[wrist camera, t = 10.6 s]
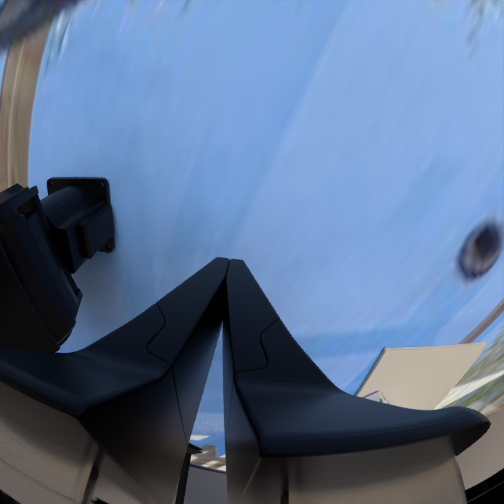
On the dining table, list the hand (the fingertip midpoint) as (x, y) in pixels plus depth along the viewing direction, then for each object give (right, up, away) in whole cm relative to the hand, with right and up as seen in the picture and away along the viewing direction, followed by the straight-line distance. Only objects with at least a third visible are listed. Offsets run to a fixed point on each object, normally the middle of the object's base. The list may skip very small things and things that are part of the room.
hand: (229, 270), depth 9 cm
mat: (+23, -19, +24) cm, 38 cm away
